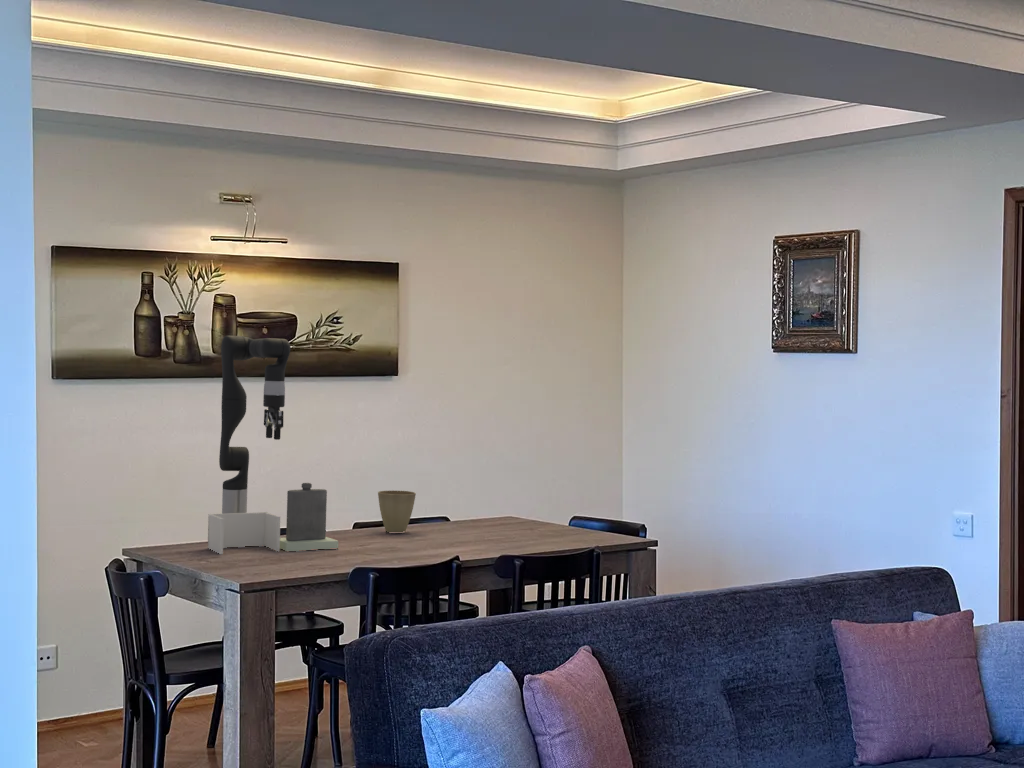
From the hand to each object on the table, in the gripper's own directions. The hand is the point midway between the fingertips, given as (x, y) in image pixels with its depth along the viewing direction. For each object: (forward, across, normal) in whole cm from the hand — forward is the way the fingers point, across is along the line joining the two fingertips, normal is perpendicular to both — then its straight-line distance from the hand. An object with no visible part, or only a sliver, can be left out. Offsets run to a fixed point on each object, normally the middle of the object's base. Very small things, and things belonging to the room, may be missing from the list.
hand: (273, 438), depth 442 cm
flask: (+35, +12, +9) cm, 38 cm away
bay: (+38, +10, -13) cm, 41 cm away
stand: (+38, +12, +9) cm, 41 cm away
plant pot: (+38, -16, +57) cm, 71 cm away
